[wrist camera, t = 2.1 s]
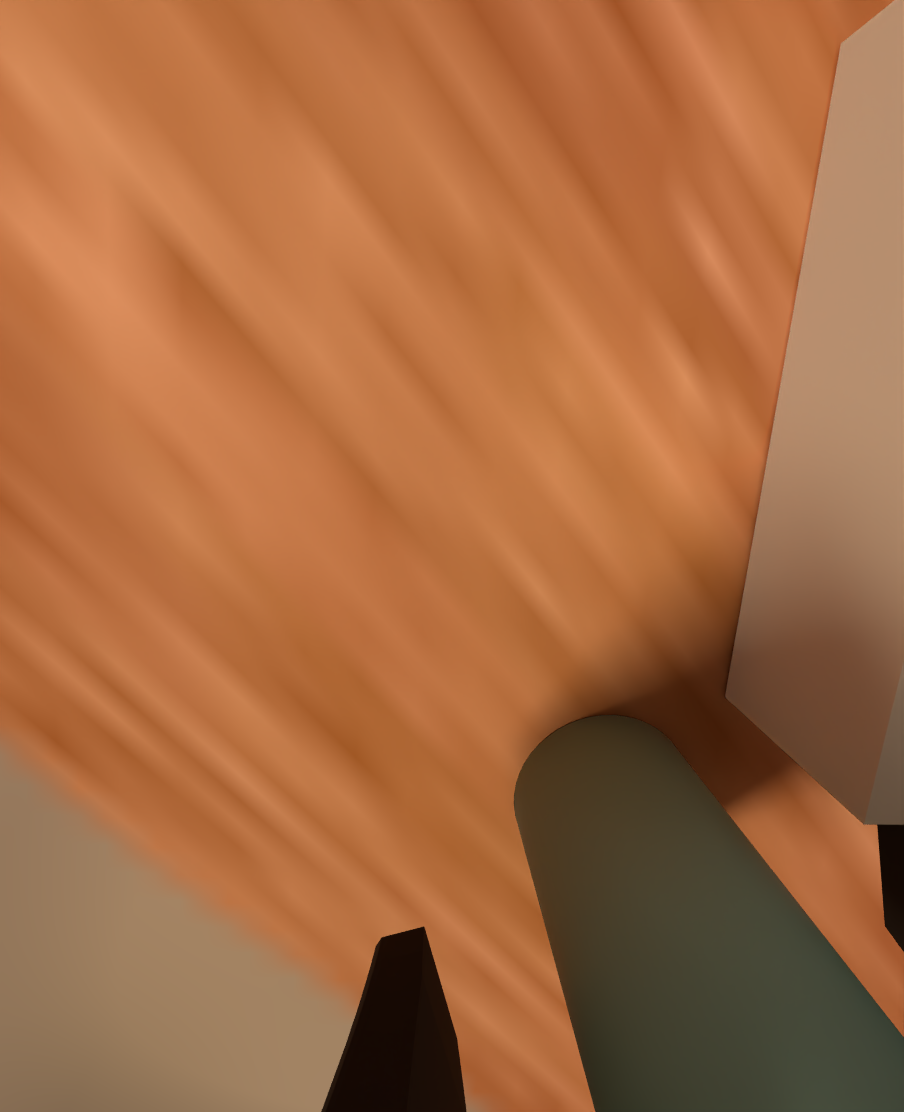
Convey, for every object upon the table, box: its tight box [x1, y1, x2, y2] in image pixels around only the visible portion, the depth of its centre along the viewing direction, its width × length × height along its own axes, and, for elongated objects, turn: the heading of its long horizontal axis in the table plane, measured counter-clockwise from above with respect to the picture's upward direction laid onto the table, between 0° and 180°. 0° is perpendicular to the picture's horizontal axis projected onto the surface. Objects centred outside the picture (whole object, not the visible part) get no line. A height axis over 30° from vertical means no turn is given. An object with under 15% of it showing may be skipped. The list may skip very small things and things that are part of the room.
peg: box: [514, 715, 904, 1112], centre depth 8 cm, size 3×3×8 cm
